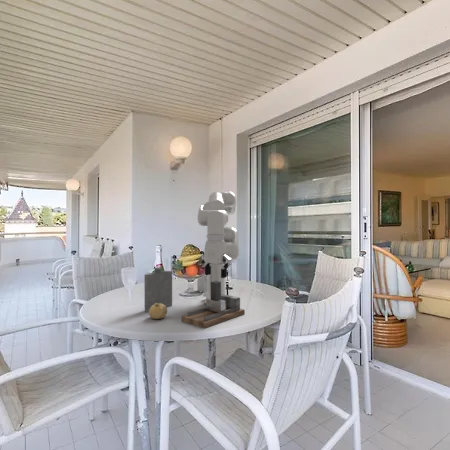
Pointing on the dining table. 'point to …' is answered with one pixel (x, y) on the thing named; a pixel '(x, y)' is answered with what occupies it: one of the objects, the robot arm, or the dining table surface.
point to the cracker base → (215, 313)
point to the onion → (157, 311)
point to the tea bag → (202, 284)
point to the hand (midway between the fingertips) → (215, 276)
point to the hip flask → (158, 288)
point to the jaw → (215, 298)
